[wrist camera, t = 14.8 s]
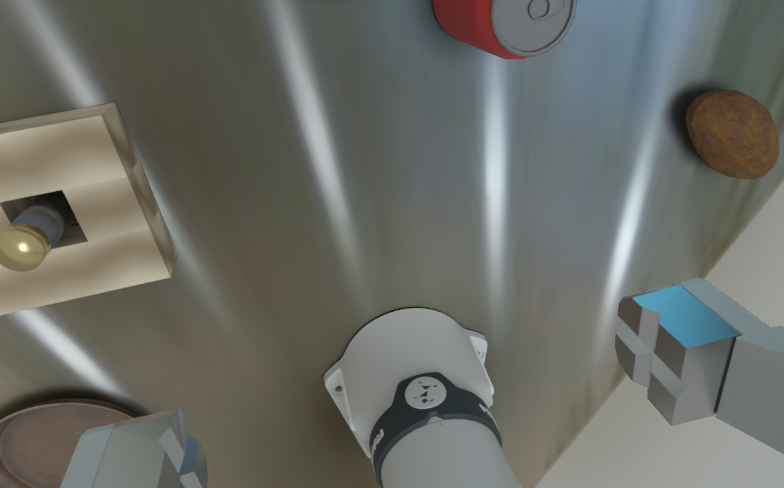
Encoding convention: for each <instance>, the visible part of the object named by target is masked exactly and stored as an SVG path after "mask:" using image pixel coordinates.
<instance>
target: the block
mask: <svg viewBox="0 0 784 488" xmlns="http://www.w3.org/2000/svg"><path fill="white" fill-rule="evenodd" d="M59 190H62V191H63V193H64V194H65V196H66V198H67V200H68V202H69V204H70V206H71V208H72V210H73V212H74V214H75V216H76V218H77V220H78V222H79V225H74V226H69V227H68V228H67V229H66V231H65V232H64V233H63V235H62V236H61V237H60V239H59V240H58V241H57V243H56V244H55V245H54V247H53V248H52V249H51V251H50V252H49V253H48V255H47V256H46V257H45V259H44V260H43V261H42V263H41V264H40V265H39V266H38V267H37V268H35V269H34V270H31V271H26V272H18V271H13V270H10V269H7V268H5V267H4V266H2V265H1V264H0V315H4V314H8V313H13V312H17V311H22V310H26V309H31V308H35V307H40V306H44V305H49V304H53V303H58V302H62V301H67V300H71V299H76V298H80V297H85V296H89V295H94V294H98V293H103V292H107V291H112V290H116V289H121V288H125V287H130V286H134V285H139V284H143V283H148V282H152V281H157V280H161V279H166V278H170V277H171V274H172V271H173V268H174V265H175V262H176V258H177V255H178V254H177V251H176V249H175V246H174V244H173V241H172V239H171V236H170V234H169V231H168V229H167V227H166V224H165V222H164V219H163V217H162V214H161V212H160V209H159V207H158V205H157V202H156V200H155V197H154V195H153V192H152V190H151V187H150V185H149V183H148V180H147V178H146V175H145V173H144V170H143V168H142V165H141V163H140V161H139V158H138V156H137V153H136V151H135V148H134V146H133V143H132V141H131V138H130V136H129V134H128V131H127V129H126V126H125V124H124V121H123V119H122V116H121V114H120V112H119V109H118V107H117V104H116V102H112V103H106V104H101V105H96V106H90V107H85V108H79V109H74V110H69V111H63V112H58V113H52V114H47V115H42V116H36V117H31V118H25V119H20V120H14V121H9V122H4V123H0V234H1V233H2V232H3V231H4V230H5V229H6V228H7V227H8V226H9V225H10V224H11V223H12V222H13V221H14V220H15V219H16V218H17V217H18V216H19V215H20V214H21V213H22V212H23V211H24V210H25V209H26V208H27V207H28V206H29V205H30V204H31V203H32V202H31V200H30V198H29V196H34V195H39V194H44V193H49V192H54V191H59Z"/></svg>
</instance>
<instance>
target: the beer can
mask: <svg viewBox="0 0 784 488" xmlns="http://www.w3.org/2000/svg"><path fill="white" fill-rule="evenodd" d="M433 6H434V11H435V15H436V18H437V20H438V22H439V23H440V25H441V27H442V28H443V29H444V30H445V31H446V32H447V33H448V34H449V35H451V36H452V37H454V38H456V39H459V40H461V41H463V42H465V43H468V44H470V45H472V46H475V47H477V48H479V49H482V50H484V51H486V52H488V53H491V54H493V55H496V56H499V57H501V58H504V59H525V58H528V57H534V56H537V55H540V54H543V53H546V52H548V51H549V50H550V49H552V48H553V47H554V46H556V45H557V44H558V43H559V42H560V41H561V40H562V39H563V37H564V36H565V35H566V33H567V32H568V31H569V28H570V26H571V24H572V22H573V19H574V17H575V11H576V6H577V0H433Z"/></svg>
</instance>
